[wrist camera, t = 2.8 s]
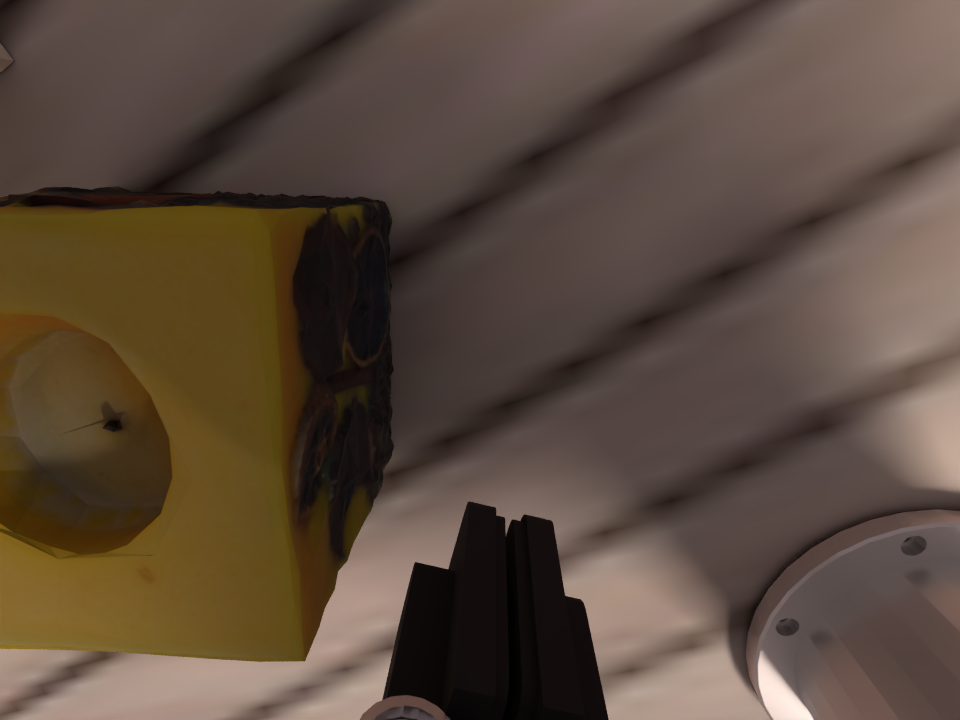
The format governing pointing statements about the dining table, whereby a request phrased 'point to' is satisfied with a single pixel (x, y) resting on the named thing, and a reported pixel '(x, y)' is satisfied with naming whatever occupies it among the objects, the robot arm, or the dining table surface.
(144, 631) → the candle
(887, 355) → the dining table surface
